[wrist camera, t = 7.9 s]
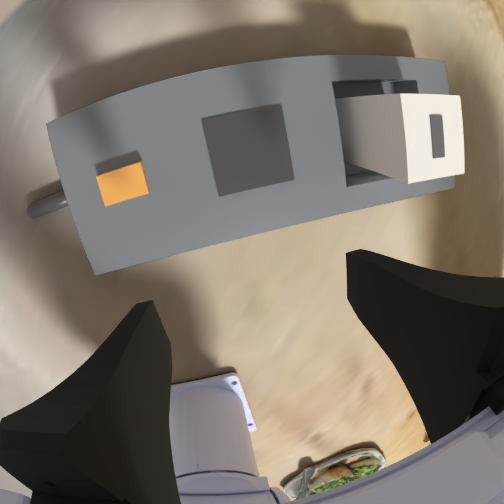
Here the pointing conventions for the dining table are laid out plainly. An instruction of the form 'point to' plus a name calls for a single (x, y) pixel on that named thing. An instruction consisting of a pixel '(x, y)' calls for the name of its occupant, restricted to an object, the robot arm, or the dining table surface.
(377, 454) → the salad plate
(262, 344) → the dining table surface
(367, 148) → the block
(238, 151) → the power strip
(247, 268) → the dining table surface
